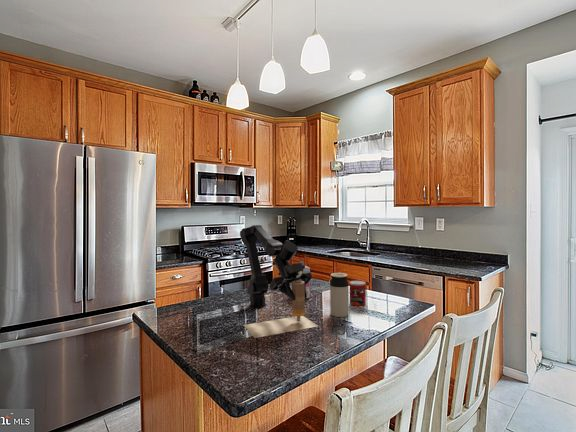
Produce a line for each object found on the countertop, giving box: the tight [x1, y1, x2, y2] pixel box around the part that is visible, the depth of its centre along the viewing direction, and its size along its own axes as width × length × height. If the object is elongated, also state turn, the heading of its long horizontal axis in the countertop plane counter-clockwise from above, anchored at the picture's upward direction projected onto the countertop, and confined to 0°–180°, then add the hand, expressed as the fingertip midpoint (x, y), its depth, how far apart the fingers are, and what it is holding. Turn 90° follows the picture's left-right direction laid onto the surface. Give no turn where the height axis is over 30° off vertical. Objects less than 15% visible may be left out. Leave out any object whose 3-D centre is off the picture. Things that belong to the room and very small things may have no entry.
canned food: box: [349, 280, 367, 308], centre depth 155 cm, size 8×8×11 cm
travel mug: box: [329, 272, 350, 318], centre depth 140 cm, size 8×8×18 cm
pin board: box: [243, 315, 319, 339], centre depth 124 cm, size 26×14×5 cm, turn 114°
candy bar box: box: [297, 265, 311, 299], centre depth 171 cm, size 11×5×16 cm, turn 25°
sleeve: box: [291, 281, 306, 317], centre depth 127 cm, size 5×5×13 cm
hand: (300, 298), depth 126 cm, fingers closed on sleeve, 5 cm apart
